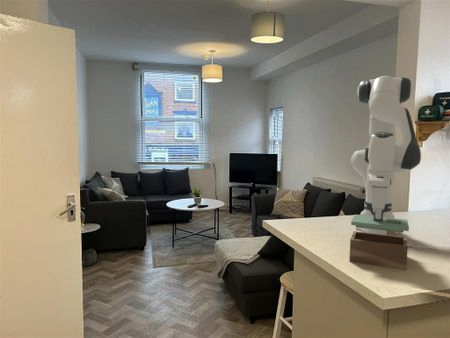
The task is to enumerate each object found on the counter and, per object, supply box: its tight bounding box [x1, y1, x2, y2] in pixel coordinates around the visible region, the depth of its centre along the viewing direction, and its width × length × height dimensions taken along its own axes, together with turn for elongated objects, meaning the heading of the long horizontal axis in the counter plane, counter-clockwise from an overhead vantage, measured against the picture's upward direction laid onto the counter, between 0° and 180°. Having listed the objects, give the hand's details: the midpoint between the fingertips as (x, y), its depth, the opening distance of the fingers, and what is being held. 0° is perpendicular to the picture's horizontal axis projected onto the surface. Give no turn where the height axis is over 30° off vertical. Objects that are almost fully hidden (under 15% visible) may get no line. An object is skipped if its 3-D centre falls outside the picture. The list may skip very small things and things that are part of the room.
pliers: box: [407, 243, 438, 251], centre depth 144 cm, size 10×2×15 cm
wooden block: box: [387, 231, 397, 236], centre depth 136 cm, size 3×3×13 cm
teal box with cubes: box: [350, 210, 410, 233], centre depth 126 cm, size 12×18×6 cm, turn 65°
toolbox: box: [349, 230, 409, 271], centre depth 127 cm, size 12×18×9 cm, turn 65°
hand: (378, 217), depth 127 cm, fingers closed on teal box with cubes, 3 cm apart
